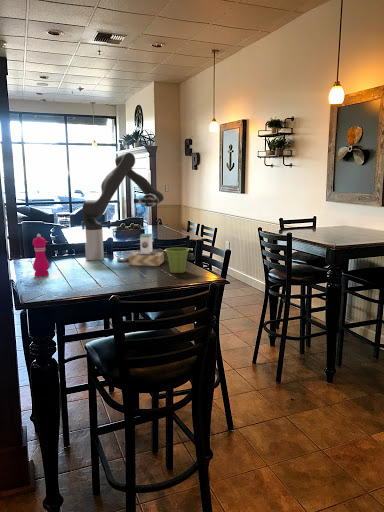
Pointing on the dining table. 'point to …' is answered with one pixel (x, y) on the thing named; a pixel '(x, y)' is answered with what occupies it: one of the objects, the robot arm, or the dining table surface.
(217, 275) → the dining table surface
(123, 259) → the bolt
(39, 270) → the pepper mill
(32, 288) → the dining table surface
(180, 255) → the plant pot
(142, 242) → the housing
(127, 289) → the dining table surface
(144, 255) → the beige chevron box
